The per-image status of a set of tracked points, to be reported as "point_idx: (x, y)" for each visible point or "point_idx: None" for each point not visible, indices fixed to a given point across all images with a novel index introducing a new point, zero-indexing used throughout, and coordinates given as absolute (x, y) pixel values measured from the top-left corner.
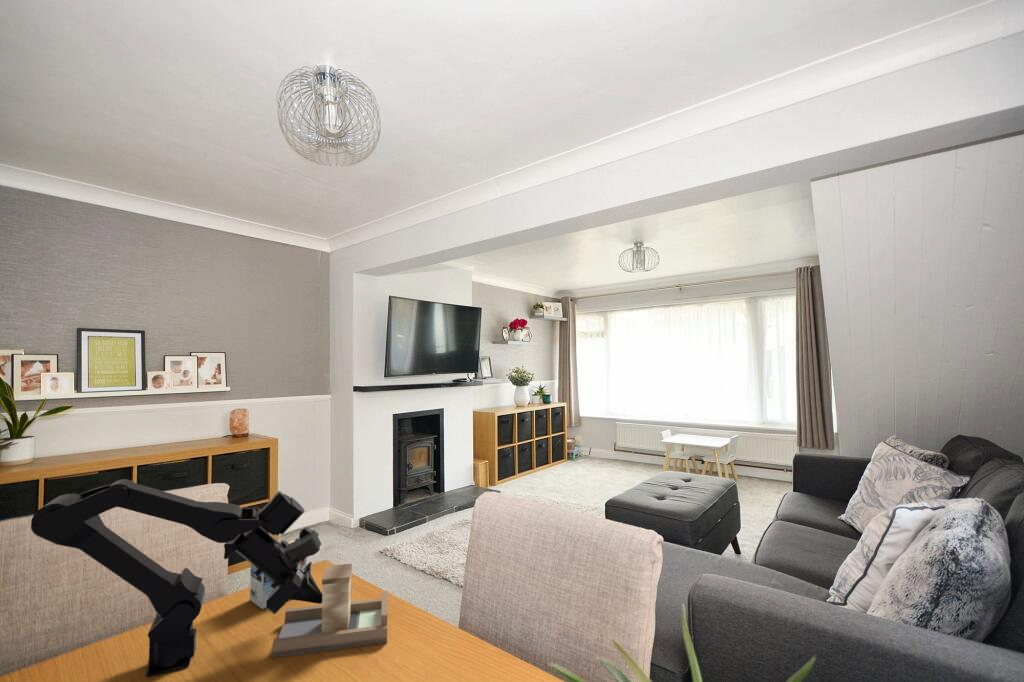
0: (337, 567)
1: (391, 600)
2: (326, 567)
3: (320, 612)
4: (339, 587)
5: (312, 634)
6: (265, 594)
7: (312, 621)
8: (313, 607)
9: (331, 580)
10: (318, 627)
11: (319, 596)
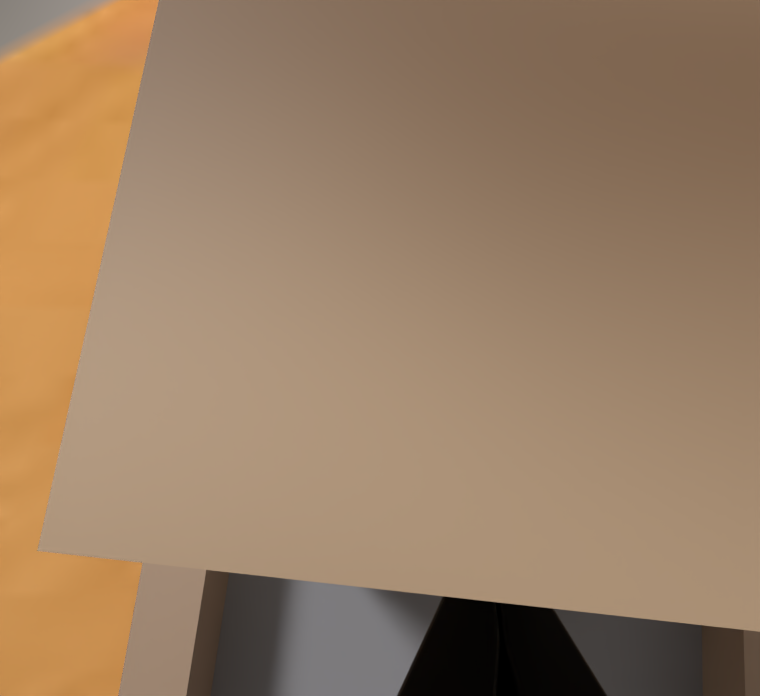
0: (337, 157)
1: (125, 14)
2: (178, 535)
3: (216, 593)
4: None
5: (757, 670)
6: None
7: (300, 670)
8: (162, 684)
9: None
10: (434, 603)
11: (574, 651)
